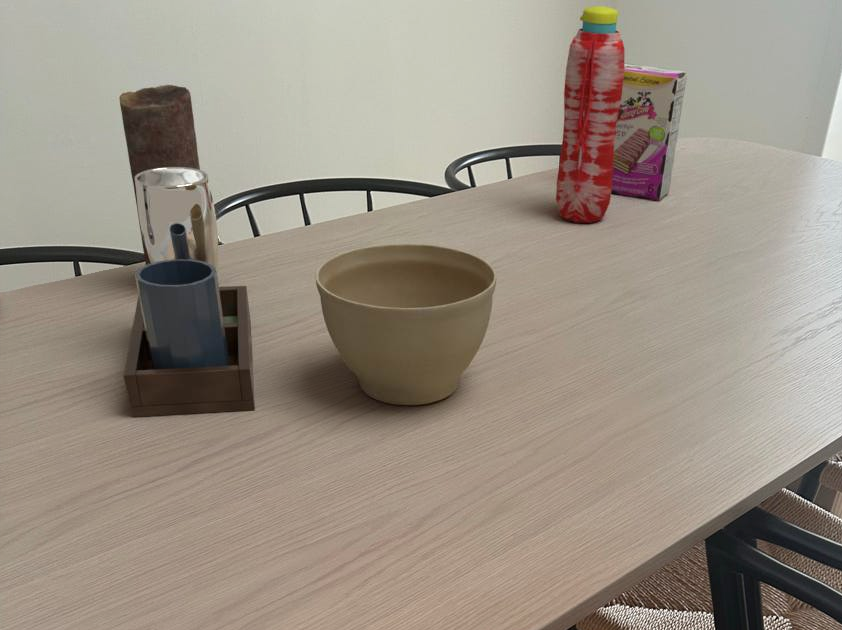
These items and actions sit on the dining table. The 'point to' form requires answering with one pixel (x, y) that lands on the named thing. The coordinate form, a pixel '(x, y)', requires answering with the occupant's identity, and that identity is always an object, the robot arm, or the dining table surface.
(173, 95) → the candle
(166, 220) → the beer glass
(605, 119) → the water bottle
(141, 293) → the tumbler
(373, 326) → the planter bowl
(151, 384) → the glass rack
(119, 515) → the dining table surface
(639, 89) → the candy bar box
